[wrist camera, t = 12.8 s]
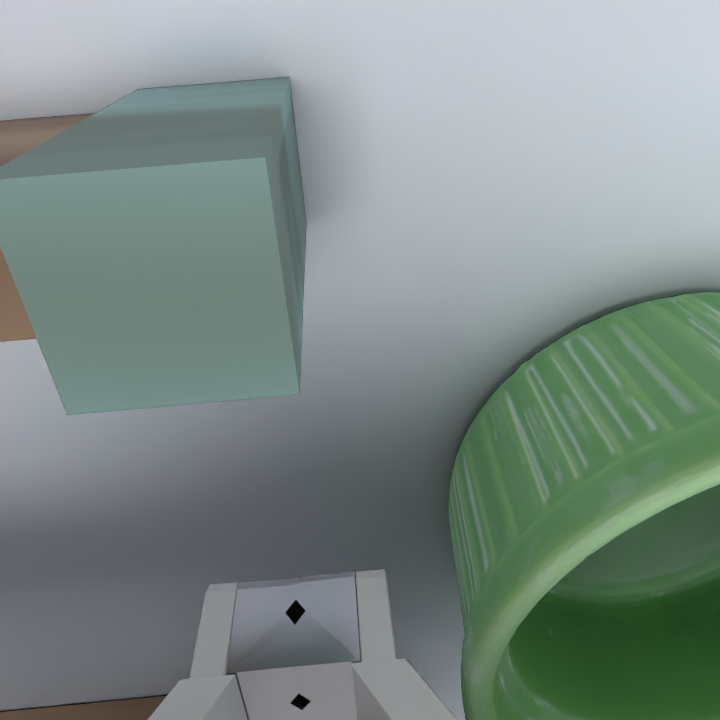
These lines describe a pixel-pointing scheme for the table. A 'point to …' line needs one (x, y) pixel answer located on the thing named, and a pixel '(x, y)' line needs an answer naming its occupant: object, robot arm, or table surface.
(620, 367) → the ramekin
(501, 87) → the table surface
